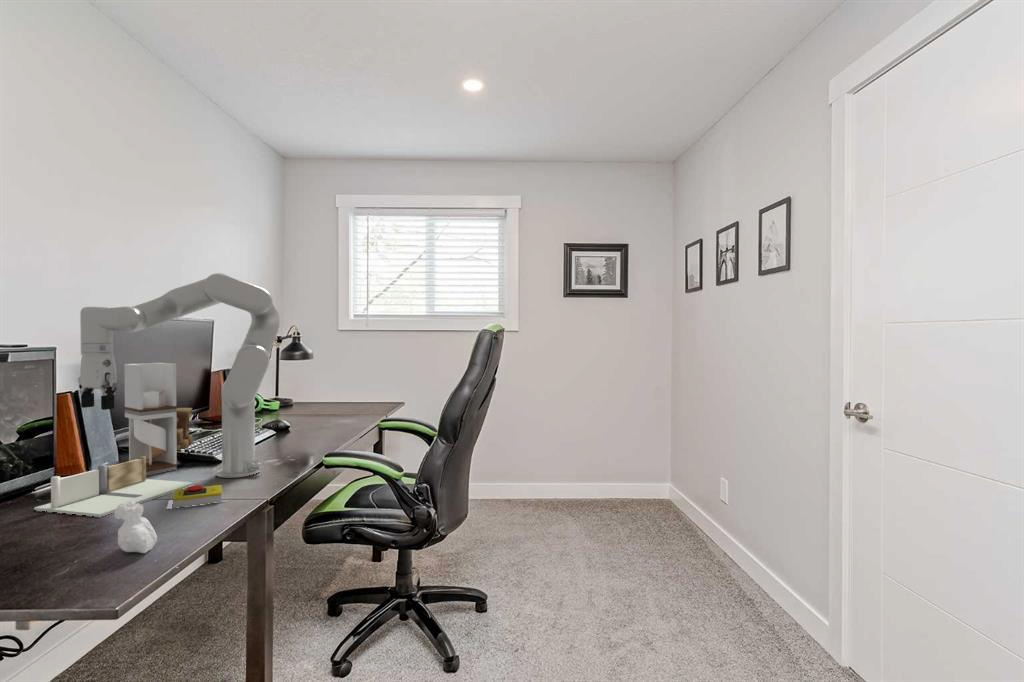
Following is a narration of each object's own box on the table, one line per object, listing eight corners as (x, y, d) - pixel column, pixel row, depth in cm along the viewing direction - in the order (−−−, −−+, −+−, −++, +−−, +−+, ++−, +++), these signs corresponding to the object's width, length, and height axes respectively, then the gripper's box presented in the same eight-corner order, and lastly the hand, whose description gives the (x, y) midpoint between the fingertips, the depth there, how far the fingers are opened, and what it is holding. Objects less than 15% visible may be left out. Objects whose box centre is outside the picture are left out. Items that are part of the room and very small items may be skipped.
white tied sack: (138, 550, 121) (98, 514, 117) (170, 524, 123) (132, 489, 120) (133, 570, 110) (89, 532, 107) (168, 541, 113) (127, 503, 110)
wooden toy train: (160, 452, 208) (160, 408, 207) (195, 449, 212) (194, 406, 212) (149, 464, 189) (149, 415, 189) (187, 461, 194) (187, 414, 194)
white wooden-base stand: (125, 471, 179) (124, 364, 178) (161, 465, 188) (160, 362, 187) (140, 476, 172) (139, 365, 172) (176, 470, 181) (176, 363, 181)
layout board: (194, 485, 163) (193, 482, 163) (100, 517, 135) (100, 513, 135) (136, 480, 168) (136, 477, 168) (34, 510, 140) (34, 507, 140)
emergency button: (168, 486, 149) (230, 479, 156) (168, 502, 149) (230, 494, 156) (165, 495, 141) (231, 487, 148) (165, 512, 141) (231, 503, 148)
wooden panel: (110, 490, 153) (110, 465, 153) (105, 490, 154) (104, 465, 154) (147, 479, 165) (147, 456, 165) (142, 479, 165) (142, 455, 165)
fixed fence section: (103, 491, 153) (102, 464, 153) (108, 492, 153) (108, 464, 153) (48, 508, 139) (48, 477, 139) (55, 508, 139) (54, 478, 139)
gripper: (129, 349, 159) (129, 408, 160) (93, 348, 167) (94, 404, 167) (100, 350, 153) (101, 411, 153) (65, 349, 160) (65, 408, 160)
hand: (97, 408), depth 160 cm, fingers open, 9 cm apart
